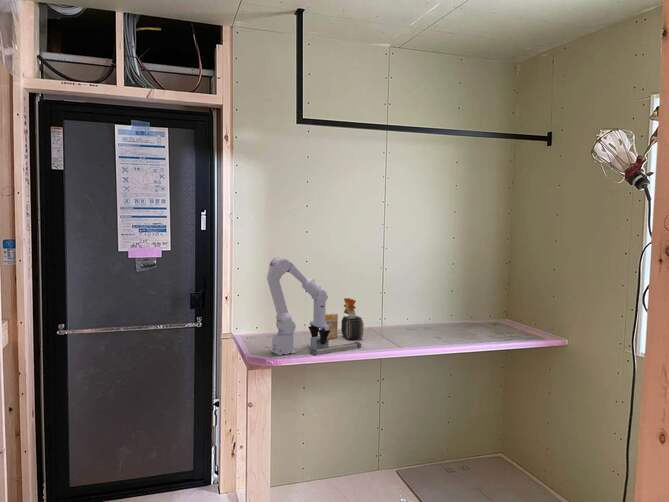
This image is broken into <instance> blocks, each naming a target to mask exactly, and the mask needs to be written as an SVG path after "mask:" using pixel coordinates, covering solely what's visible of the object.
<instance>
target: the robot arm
mask: <svg viewBox="0 0 669 502" xmlns="http://www.w3.org/2000/svg"><path fill="white" fill-rule="evenodd" d="M268 267H269V268H268V271H267V272H268V273H267V274H266V275H267V276H266V281H267V283H268V286H269V291H270V294H271V297H272V301H273V305H274V308H275V311H276V316H275V318H276V319H275V320H276V322H275V326H276V329H278V331H277V333H276V334H273V335H272V338H271V352H272V353H273V354H276V355H277V354H278V355H277V356H283V355H282V354H285V355H290V354H289V353H292V354H296V353H297V354H298V351H296V350H294V332H295V331H296V329H297V327H296V323H295V322H294V321H293V319H292V316H291V315H290V313H289V310H288V306H287V303H286V299H285V295H284V291H283V289H282V285H281V282H280V281H281V280H280V279H281V278H282V276H283V275H284V274H286V273H289V274H290V275H292V276H293V277H294V278H295V279H297V281H299V282H300V283H301V286H302V289H303V290H305V291H306V292H307V293H308V294H309V296H311V299H313V314H312V315H313V317H312V318H313V320H310V321H309V326H308V330H309V332H310V334H311V337H317V336H320V340H321V344H322V345H323V344H326V340H327V337H328V334H329V333H330V330H329V326H328V325H327V323H325V313H326V302H327V300H328V298H329V296H328V292H326V291H325V290H324V289H322V286H321V285H318V284H317V283H316V282H315V281H316V280H315V279H313V278H310V277H309V278H307V277H306V276H305V275H304V274H303V272H302V271H301V270H299V268H297V266H296V265H295V264H294V263H293V262H292V261H290V260H289V259H288V258H284V257H280V256H276V257H273V258H272V260H271V261H270V262H269V264H268ZM320 328H321V329H322V330H320Z"/></svg>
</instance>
